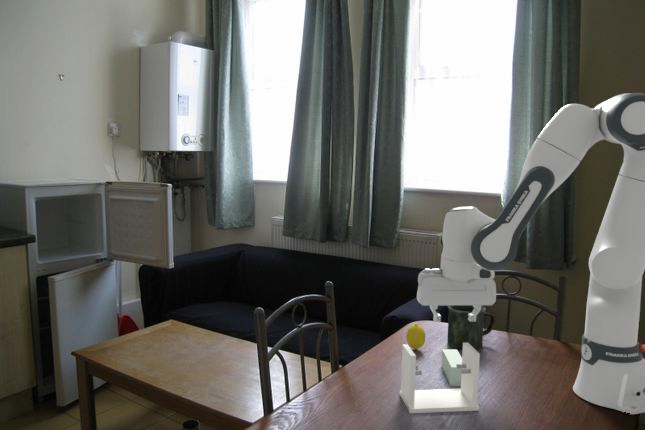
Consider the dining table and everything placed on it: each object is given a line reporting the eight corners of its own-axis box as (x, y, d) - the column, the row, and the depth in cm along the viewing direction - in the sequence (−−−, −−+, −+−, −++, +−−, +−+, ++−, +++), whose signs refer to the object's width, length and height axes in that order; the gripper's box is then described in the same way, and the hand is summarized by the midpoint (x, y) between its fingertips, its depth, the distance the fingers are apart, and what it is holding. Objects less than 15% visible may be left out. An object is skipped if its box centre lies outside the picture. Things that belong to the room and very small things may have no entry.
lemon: (424, 354, 149) (425, 327, 148) (405, 352, 150) (406, 326, 149) (424, 347, 154) (425, 321, 153) (406, 345, 155) (407, 320, 154)
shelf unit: (463, 392, 125) (466, 341, 124) (478, 410, 116) (481, 355, 115) (399, 394, 123) (401, 342, 122) (410, 413, 115) (412, 357, 113)
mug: (440, 339, 161) (442, 302, 160) (484, 337, 163) (486, 301, 162) (453, 352, 151) (455, 312, 149) (500, 350, 152) (502, 311, 151)
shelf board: (441, 366, 141) (442, 349, 140) (456, 367, 141) (457, 349, 140) (450, 386, 129) (451, 367, 128) (466, 386, 129) (467, 367, 128)
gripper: (422, 271, 127) (419, 325, 129) (500, 272, 129) (496, 324, 131) (415, 266, 133) (412, 317, 135) (490, 266, 136) (486, 316, 137)
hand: (454, 321), depth 133 cm, fingers open, 8 cm apart
